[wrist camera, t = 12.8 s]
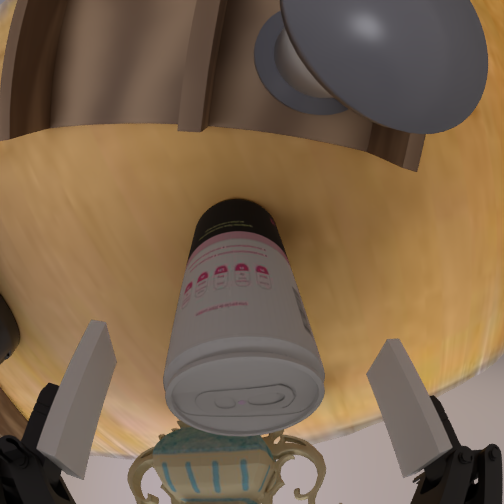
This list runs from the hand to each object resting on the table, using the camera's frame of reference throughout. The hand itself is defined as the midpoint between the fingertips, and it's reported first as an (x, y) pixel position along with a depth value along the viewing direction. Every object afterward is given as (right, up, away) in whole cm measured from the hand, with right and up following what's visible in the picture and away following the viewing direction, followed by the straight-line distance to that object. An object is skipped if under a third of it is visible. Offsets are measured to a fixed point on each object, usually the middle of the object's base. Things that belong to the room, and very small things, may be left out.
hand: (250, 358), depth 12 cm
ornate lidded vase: (-4, -13, +21) cm, 25 cm away
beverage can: (-1, +6, +11) cm, 13 cm away
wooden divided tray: (-3, +20, +3) cm, 20 cm away
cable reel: (+4, +18, +4) cm, 19 cm away
